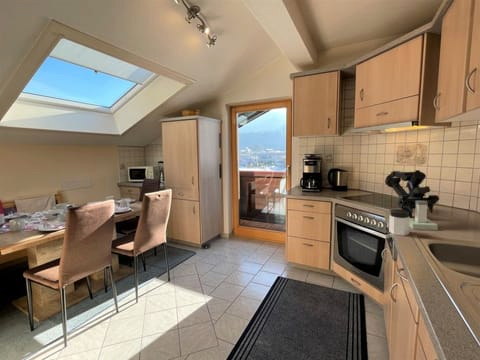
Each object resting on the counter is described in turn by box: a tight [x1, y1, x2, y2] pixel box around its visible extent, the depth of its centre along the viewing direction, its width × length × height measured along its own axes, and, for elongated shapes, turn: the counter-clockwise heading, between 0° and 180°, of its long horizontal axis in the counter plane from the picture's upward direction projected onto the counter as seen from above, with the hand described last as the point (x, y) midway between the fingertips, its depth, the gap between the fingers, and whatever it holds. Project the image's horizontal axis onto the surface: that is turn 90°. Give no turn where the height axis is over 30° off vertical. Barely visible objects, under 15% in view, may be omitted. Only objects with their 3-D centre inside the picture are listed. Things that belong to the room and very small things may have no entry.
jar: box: [388, 208, 410, 237], centre depth 128 cm, size 9×8×12 cm
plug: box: [414, 201, 428, 223], centre depth 136 cm, size 4×4×14 cm
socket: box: [409, 217, 439, 231], centre depth 136 cm, size 11×11×3 cm
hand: (422, 212), depth 134 cm, fingers open, 9 cm apart
